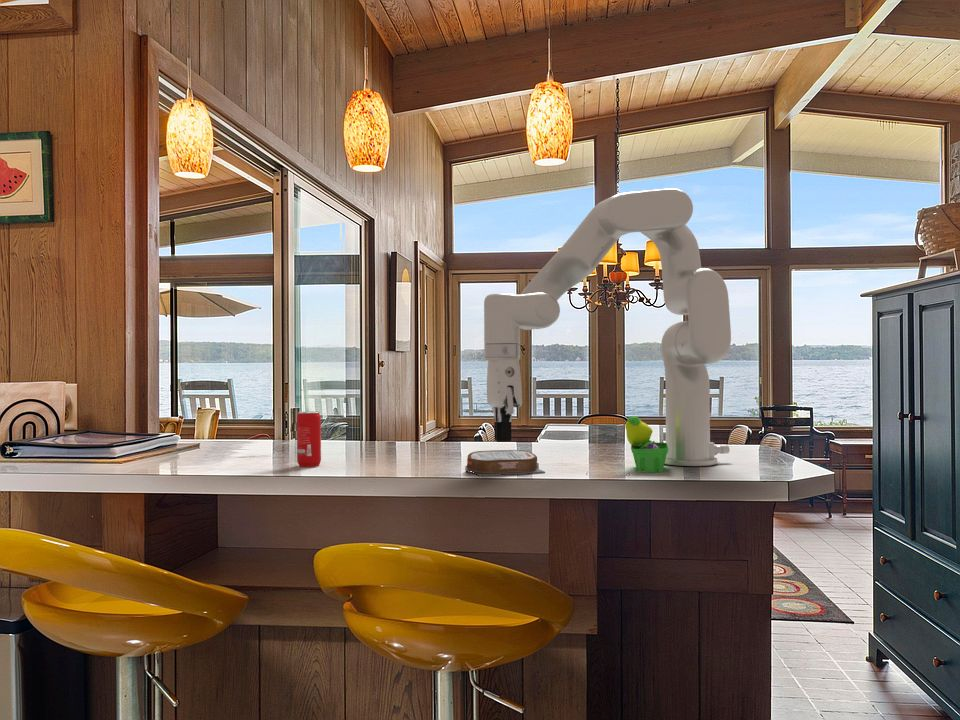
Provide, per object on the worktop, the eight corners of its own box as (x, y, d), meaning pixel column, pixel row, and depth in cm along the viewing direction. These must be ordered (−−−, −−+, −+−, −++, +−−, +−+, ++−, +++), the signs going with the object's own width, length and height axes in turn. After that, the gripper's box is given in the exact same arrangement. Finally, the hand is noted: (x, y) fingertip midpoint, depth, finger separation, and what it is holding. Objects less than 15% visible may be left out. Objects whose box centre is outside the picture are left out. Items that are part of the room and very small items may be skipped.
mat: (537, 468, 166) (537, 462, 166) (549, 472, 159) (549, 466, 159) (465, 471, 161) (465, 466, 161) (474, 476, 154) (474, 470, 154)
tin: (462, 462, 163) (472, 477, 155) (462, 448, 162) (473, 462, 154) (529, 460, 167) (542, 474, 159) (530, 446, 166) (543, 459, 158)
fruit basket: (669, 473, 157) (669, 418, 157) (625, 472, 159) (624, 417, 159) (667, 466, 168) (666, 414, 168) (625, 465, 170) (625, 413, 170)
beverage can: (293, 465, 172) (293, 412, 172) (315, 463, 175) (314, 411, 175) (303, 468, 168) (302, 413, 168) (325, 466, 171) (324, 412, 171)
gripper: (531, 352, 155) (532, 444, 155) (507, 353, 169) (508, 437, 169) (496, 352, 153) (496, 445, 153) (475, 353, 167) (475, 438, 167)
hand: (502, 440), depth 161 cm, fingers closed
